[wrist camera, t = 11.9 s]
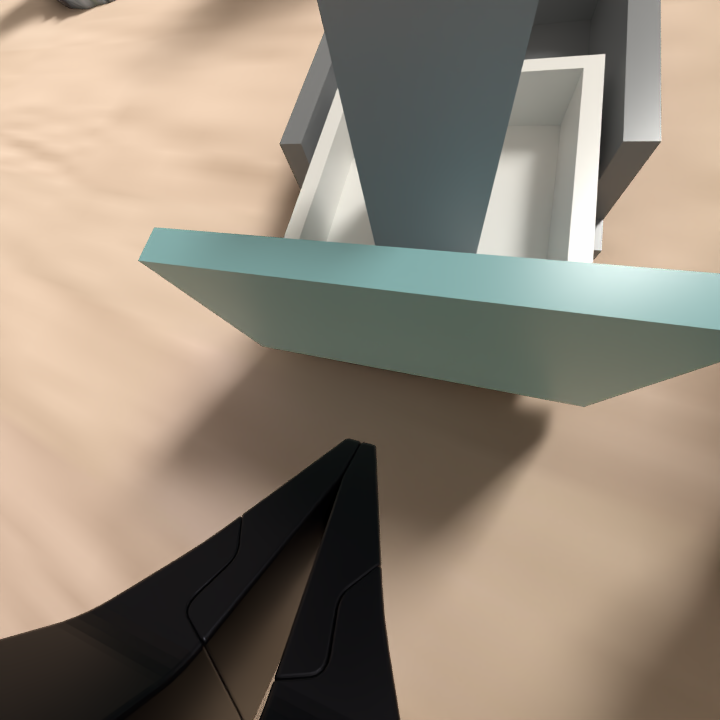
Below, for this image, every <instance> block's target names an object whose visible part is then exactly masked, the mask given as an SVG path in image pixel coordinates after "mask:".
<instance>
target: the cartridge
mask: <svg viewBox="0 0 720 720" xmlns="http://www.w3.org/2000/svg"><path fill="white" fill-rule="evenodd" d="M538 1H539V0H317V2H318V6H319V11H320V15H321V19H322V23H323V27H324V32H325V36H326V40H327V44H328V49H329V53H330V57H331V61H332V65H333V70H334V74H335V78H336V82H337V87H338V91H339V95H340V99H341V103H342V108H343V112H344V116H345V120H346V125H347V129H348V133H349V137H350V141H351V146H352V150H353V154H354V158H355V163H356V167H357V171H358V175H359V179H360V184H361V188H362V192H363V196H364V201H365V205H366V209H367V213H368V217H369V222H370V226H371V230H372V234H373V239H374V243H375V245H376V246H388V247H400V248H412V249H425V250H437V251H449V252H461V253H474V254H476V253H477V249H478V245H479V241H480V237H481V233H482V229H483V225H484V221H485V216H486V212H487V208H488V204H489V200H490V196H491V192H492V188H493V184H494V180H495V176H496V172H497V168H498V164H499V160H500V156H501V152H502V148H503V143H504V139H505V135H506V131H507V127H508V123H509V119H510V115H511V111H512V107H513V103H514V99H515V95H516V91H517V87H518V83H519V79H520V74H521V70H522V66H523V62H524V58H525V54H526V50H527V46H528V42H529V38H530V34H531V30H532V26H533V22H534V18H535V14H536V10H537V6H538Z"/></svg>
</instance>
